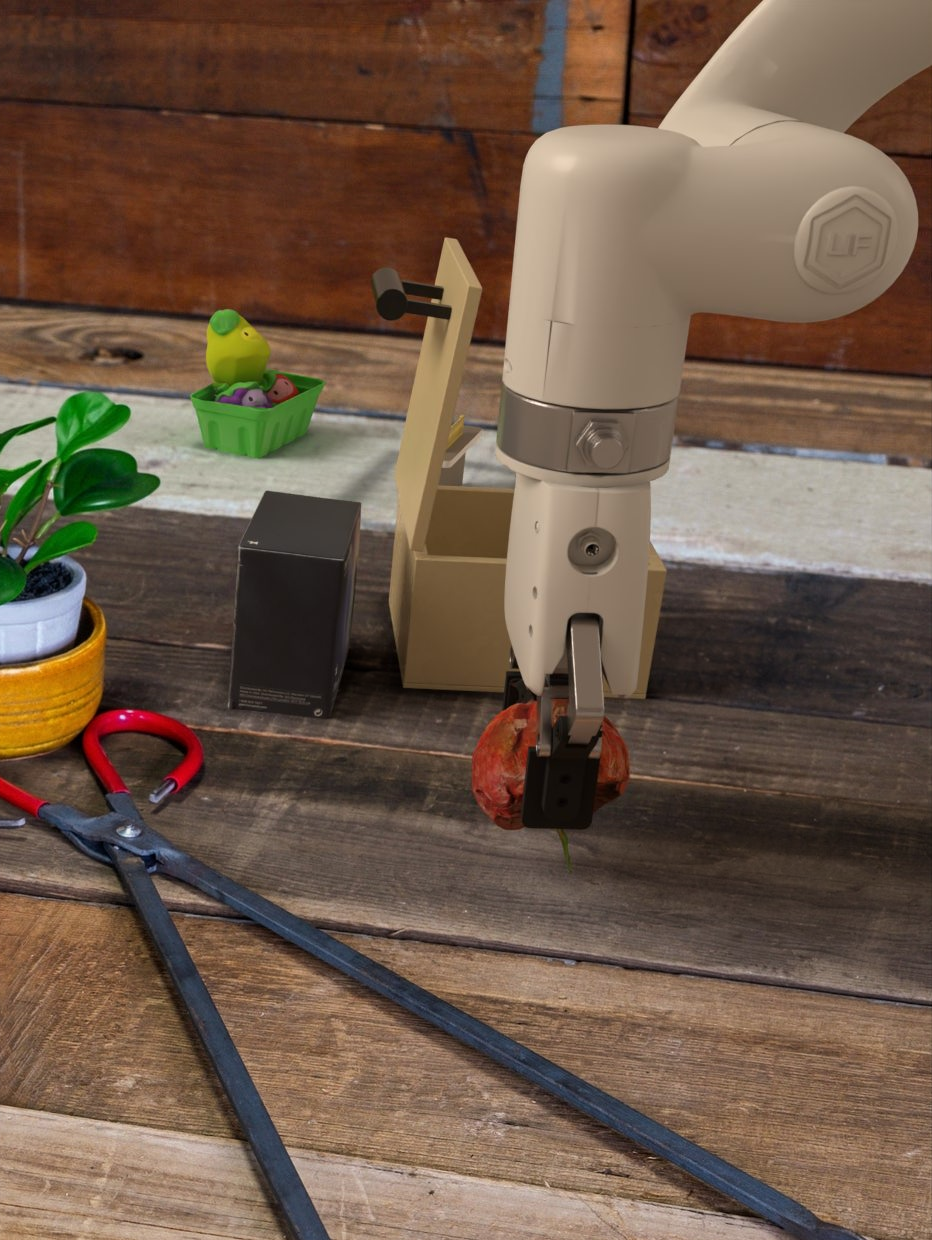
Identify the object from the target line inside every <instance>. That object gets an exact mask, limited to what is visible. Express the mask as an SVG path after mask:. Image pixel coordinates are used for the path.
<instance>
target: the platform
mask: <svg viewBox="0 0 932 1240" xmlns="http://www.w3.org/2000/svg"><path fill="white" fill-rule="evenodd" d="M465 416H466V414H460V415H459V418H458V419H457V420H456V422H454V423H452V426H451V430H450V435H449V439H448V444H447V448H446V452H445V457H444V461H443V466H442V470H441V475H440V479H439V483H438V485H440V486H462V485H463V482H464V473H465V463H466V456H467V455H466V454H467V451H468V450H470V448H471V447H472V446H473V445H475V444H476V442H477V441H478V440H479V439H480V438H481V437H482V436H483V428H482V427H480V426H474V425H468V424H464V423H465Z"/></svg>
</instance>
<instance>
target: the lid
mask: <svg viewBox="0 0 932 1240" xmlns="http://www.w3.org/2000/svg"><path fill="white" fill-rule="evenodd" d="M370 289H371V292H372V297H373V300H374V304H375V309H376V312H377V314H378V316H380V318H382V319H383V320H385V321H388V322H394V321H398V320H400V319H402V318H403V316H405V314H408V315H409V314H410V315H417V316H422V317H427V318H426V319H427V320H426V323H425V327H424V328H425V329H424V333H423V338H422V343H421V347H420V353H419V357H418V362H417V366H416V371H415V376H414V380H413V385H412V390H411V394H410V400H409V404H408V409H407V413H406V418H405V423H404V426H403V427H404V428H403V432H402V435H401V436H402V437H401V442H400V446H399V450H398V456H397V460H396V465H395V470H394V474H393V475H394V481H395V485H396V490H397V494H398V495H399V500H400V505H401V510H402V514H403V519H404V524H405V529H406V533H407V538H408V543H409V548H410V550H412V551H419V552H423V550H424V545H425V541H426V536H427V532H428V528H429V523H430V519H431V514H432V510H433V506H434V501H435V497H436V492H437V488H438V483H439V479H440V475H441V470H442V466H443V461H444V457H445V452H446V448H447V444H448V439H449V435H450V430H451V426H452V425H453V421H454V416H455V412H456V408H457V403H458V398H459V395H460V391H461V390H460V389H461V385H462V382H463V377H464V373H465V368H466V363H467V359H468V355H469V350H470V345H471V341H472V336H473V332H474V328H475V323H476V319H477V314H478V311H479V310H478V309H479V306H480V301H481V297H482V292H483V287H482V285H481V283H480V281H479V279H478V277H477V275H476V273H475V271H474V268H473V267H472V265H471V263H470V262H469V260H468V258H467V256H466V254H465V252H464V249H463V247H462V246H461V244H460V242H459V240H458V239H456V238H452V237H444V240H443V244H442V248H441V254H440V258H439V263H438V268H437V273H436V277H435V281H434V284H430V283H424V282H418V281H413V280H408V279H407V280H406V279H401V276H400V274H399V272H398V271H397V270H395V268H393V267H387V266H386V267H380V268H379V269H377V270H376V271H375V272H374V273H373V274H372V276H371V278H370ZM407 296H413V297H420V298H425V299H426V298H427V299H431V301H426V300H419V299H414V298H408V297H407Z"/></svg>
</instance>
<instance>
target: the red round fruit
mask: <svg viewBox="0 0 932 1240" xmlns="http://www.w3.org/2000/svg"><path fill="white" fill-rule="evenodd" d="M511 685H512V686H513V687H517V689H518V691H519V700H518V701H517V703H516V704H515V705H512V706H510V707H509V708H507V709H506V710H504V711H502V710H501V712H499V713H498V714H496V715H495V717H494V718H493V719H491V721H490V722H489V723H488V725H487V726H486V727H485V729H484V730H483V732H482V733H481V736H480V737H479V740H478V742H477V744H476V747H475V748H474V750H473V752H472V754H471V755H472V756H471V791H472V794H473V797H474V799H475V801H476V803H477V805H478V807H479V808H480V809H481V810H482V812H483V813H484V814H485V815H487V817H488V818H489V819H490V820H491V821H492V823H494V824H495V825H496V826H497V827H499V828H500V829H503V830H505V831H517V830H521V829H524V828H526V827H525V826H524V825H523V823H522V820H521V807H522V798H523V789H524V780H525V772H526V763H527V754H528V746H536V710H537V701H535V699H534V697H533V695H532V693H531V691H530V689H529V688H528V687H527V686H526V685H525V683H524V681H523V679H521V680H520V681H518V682H517V683H513V684H511ZM568 704H569V700H553V710H552V727H553V726H554V723H555V722H556V720H557V719H558V717H559V716H567V708H568ZM602 731H603V732H602V748H601V759H600V766H599V774H598V781H597V788H596V796H595V803H594V811H593V815H595V813H597V811H598V810H599V809H601V808H602V807H604V806H605V805H607V804H610V803H611V802H613V801H615V800H616V799H618V798H620V797H621V796H622V794H624V792H625V791H626V788H627V785H628V783H629V781H630V777H631V772H630V771H631V767H630V766H631V765H630V757H629V756H630V755H629V750H628V747H627V744H626V743H625V740H624V739H623V737H622V735H621V734H620V732H619V731H618V729H617V728H616V726H614V724H613V722H611V721H610V719H608V717H607V716H606V715H604V720H603V723H602ZM556 832H557V835H558V837H559V840H560V842H561V845H562V851H563V853H564V856H565V860H566V864H567V868H568V872H569V873H570V874H571V873H572V871H573V869H572V868H573V867H572V864H571V857H570V851H569V838H568V835H567V832H566V830H565V829H556Z"/></svg>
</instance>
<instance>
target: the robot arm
mask: <svg viewBox="0 0 932 1240" xmlns="http://www.w3.org/2000/svg"><path fill="white" fill-rule="evenodd" d="M931 66H932V0H762V1H761V2H760V3H759V4H758V5H757V6H756V7H754V9H753V10H752V11H751V12H750V13H749V14H748V15H747V16H746V17H745V18H744V19H743V20H742V21H741V22H740V24H739V25H738V26H737V27H736V28H735V29H734V30H733V31H732V33H730V35H729V36H728V38H727V39H726V40H725V41H724V42H723V43H722V44H721V46H720V47H719V48H718V49H717V51H716V52H715V53H714V54H713V55H712V57H711V58H710V59H709V60H708V62H707V63H706V64H705V65H704V66H703V68H702V69H701V70H700V72H699V73H698V74H697V75H696V76H695V77H694V79H693V80H692V81H691V82H690V84H689V85H688V86H687V87H686V89H685V90H684V91H683V92H682V94H681V95H680V96H679V98H678V99H677V100H676V102H675V103H674V104H673V106H672V107H671V108H670V109H669V111H668V112H667V114H666V115H665V117H663V120H662V121H661V123H660V124H659V126H658V127H651V126H650V127H649V126H643V125H642V126H641V125H633V124H632V125H630V124H603V123H602V124H582V125H571V126H570V125H569V126H564V127H559V128H556V129H553V130H550V131H547V132H545V133H544V134H542V135H541V136H540V137H538V138H537V139H536V140H535V141H534V143H532V145H531V146H530V148H529V149H528V152H527V153H526V155H525V158H524V162H523V165H522V173H521V178H520V179H521V180H520V187H519V196H518V197H519V198H518V207H517V217H516V228H515V229H516V230H515V242H514V251H513V260H512V261H513V262H512V273H511V283H510V292H509V293H510V294H509V303H508V305H509V306H508V313H507V314H508V315H507V325H506V336H505V346H504V347H505V348H504V357H503V358H504V359H503V369H502V378H501V379H502V380H501V387H500V397H499V409H498V417H497V418H498V419H497V429H496V439H495V440H496V441H495V450H494V451H495V452H494V456H495V458H496V460H497V461H498V463H500V464H501V466H503V467H506V468H507V469H508V470H509V471H512V472H514V473H515V476H514V478H515V485H514V489H515V491H514V499H513V507H512V515H511V524H510V533H509V543H508V553H507V564H506V579H505V601H504V608H505V620H506V625H507V630H508V633H509V637H510V640H511V648H510V668H511V669H520V671H506V678H505V688H504V692H503V697H502V698H503V700H502V707H501V712H502V711H504V710H506V709H507V708H509V707H510V706H512V705H515V704H516V703H517V701H518V700H519V691H518V689H517V687H513V686H512V685H511V684H513V683H517V682H518V681H520V680H521V679H523V681H524V683H525V685H526V686H527V687H528V688H529V689H530V691H531V693H532V695H533V697H534V699H535V701H537V710H536V746H528V754H527V763H526V772H525V780H524V789H523V798H522V807H521V820H522V823H523V825H524V826H525V827H524V828H527V829H542V830H543V829H544V830H545V829H546V830H557V829H564V830H574V831H575V830H581V831H583V830H587V829H589V828H590V827H591V826H592V823H593V816H594V814H593V811H594V803H595V796H596V788H597V781H598V774H599V766H600V759H601V748H602V732H603V731H602V723H603V720H604V716H605V697H604V695H603V674H604V677H605V679H606V681H607V684H608V686H609V689H610V691H611V694H612V695H618V696H619V697H620V698H619V699H629V698H628V697H630V696H631V695H632V694H633V693H634V691H635V690H636V687H637V680H638V671H639V661H640V651H641V641H642V631H643V620H644V610H645V599H646V588H647V577H648V564H649V549H650V541H651V526H652V525H651V524H652V523H651V522H652V502H651V501H652V492H651V489H652V487H651V482H652V481H657V480H658V479H660V478H662V477H663V476H665V475H666V474H667V472H669V469H670V463H671V455H672V449H673V442H674V437H675V436H674V435H675V429H676V422H677V414H678V408H679V402H680V401H679V400H680V392H681V386H682V380H683V379H682V378H683V374H684V373H683V371H684V365H685V358H686V353H687V346H688V345H687V344H688V337H689V330H690V325H691V317H692V315H694V314H698V313H699V314H700V313H705V314H717V315H725V316H726V315H727V316H734V317H743V318H749V319H757V320H764V321H765V320H766V321H772V322H780V323H794V324H795V323H796V324H803V323H804V324H805V323H817V322H823V321H829V320H834V319H837V318H841V317H844V316H846V315H850V314H851V313H854V312H856V311H858V310H860V309H862V308H864V307H866V306H868V305H870V303H872V302H874V301H876V299H878V298H879V297H880V296H881V295H883V294H884V293H886V291H887V290H888V289H889V288H890V287H891V286H892V285H893V284H894V283H895V282H896V280H897V279H898V277H900V275H901V274H902V272H903V271H904V269H905V268H906V266H907V264H908V262H909V260H910V258H911V256H912V254H913V252H914V249H915V247H916V246H915V245H916V242H917V237H918V231H919V210H918V205H917V199H916V196H915V193H914V190H913V187H912V186H911V183H910V182H909V179H908V177H907V176H906V175H905V173H904V172H903V171H902V169H901V168H900V166H898V164H896V162H895V161H894V160H893V159H892V158H891V157H889V156H888V155H887V154H885V152H883V151H882V150H880V149H879V148H877V147H875V146H874V145H872V144H871V143H869V142H867V141H865V140H863V139H860V138H858V137H857V136H853V135H850V134H847V133H846V131H848V129H849V128H850V127H851V126H852V125H853V124H854V123H855V122H856V121H857V120H858V119H860V117H862V116H863V115H864V114H865V113H866V112H867V111H868V110H869V109H871V107H873V106H874V105H875V104H876V103H878V102H879V101H880V100H881V99H882V98H884V97H886V95H887V94H889V93H890V92H891V91H893V90H894V89H896V88H897V87H899V86H900V85H902V84H903V83H904V82H906V81H907V80H909V79H910V78H912V77H914V76H916V75H917V74H919V73H921V72H922V71H924V70H926V69H927V68H929V67H931ZM553 700H569V704H568V708H567V716H559V717H558V719H557V720H556V722H555V723H554V726H553V727H552V710H553Z"/></svg>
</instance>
